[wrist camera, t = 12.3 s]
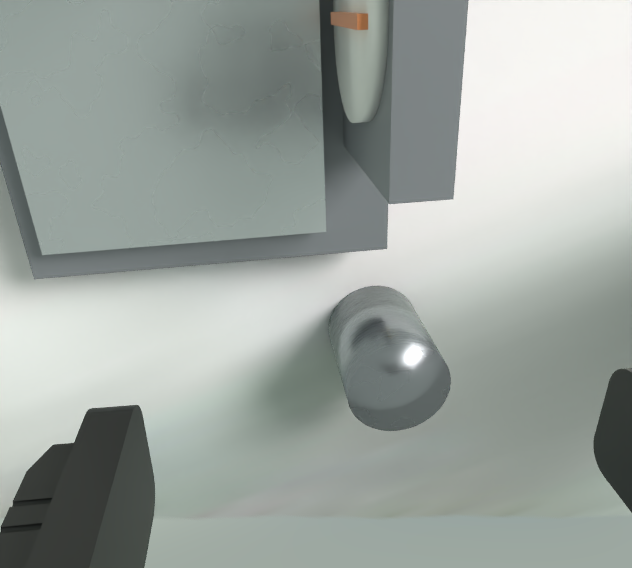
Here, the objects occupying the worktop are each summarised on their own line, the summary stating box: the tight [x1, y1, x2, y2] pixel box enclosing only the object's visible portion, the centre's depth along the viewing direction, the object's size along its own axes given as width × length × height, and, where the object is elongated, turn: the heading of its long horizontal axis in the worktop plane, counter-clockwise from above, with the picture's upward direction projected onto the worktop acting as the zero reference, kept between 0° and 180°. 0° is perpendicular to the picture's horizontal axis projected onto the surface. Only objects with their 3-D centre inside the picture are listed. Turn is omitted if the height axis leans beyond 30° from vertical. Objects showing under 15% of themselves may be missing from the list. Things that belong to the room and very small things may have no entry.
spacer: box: [329, 286, 451, 431], centre depth 29 cm, size 5×5×6 cm
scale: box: [0, 0, 468, 279], centre depth 19 cm, size 16×20×11 cm
